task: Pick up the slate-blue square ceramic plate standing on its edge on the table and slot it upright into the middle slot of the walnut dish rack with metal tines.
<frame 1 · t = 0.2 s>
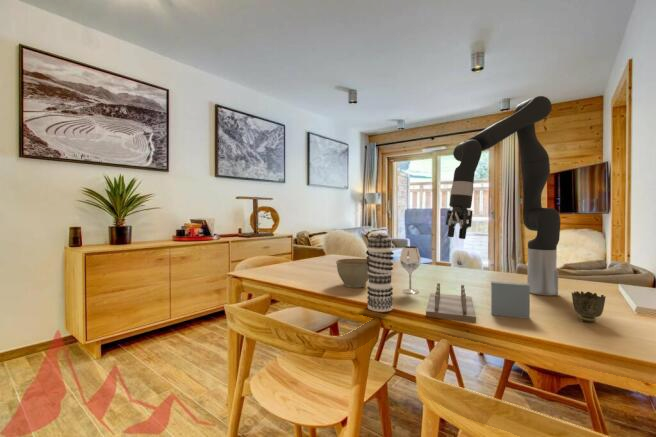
hand: (455, 237, 112), 22 cm above the table, tool pointing down, fingers open, 8 cm apart
cup: (587, 322, 87), on the table
wineglass: (410, 292, 121), on the table
dish rack: (450, 307, 100), on the table
plate: (509, 315, 93), on the table
decorative candle: (380, 308, 101), on the table
planter bowl: (354, 285, 132), on the table
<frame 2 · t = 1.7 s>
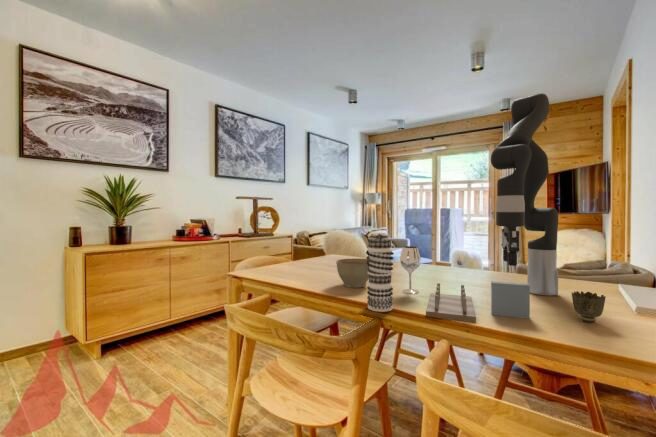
hand: (509, 263, 92), 16 cm above the table, tool pointing down, fingers open, 8 cm apart
nothing on the table moved.
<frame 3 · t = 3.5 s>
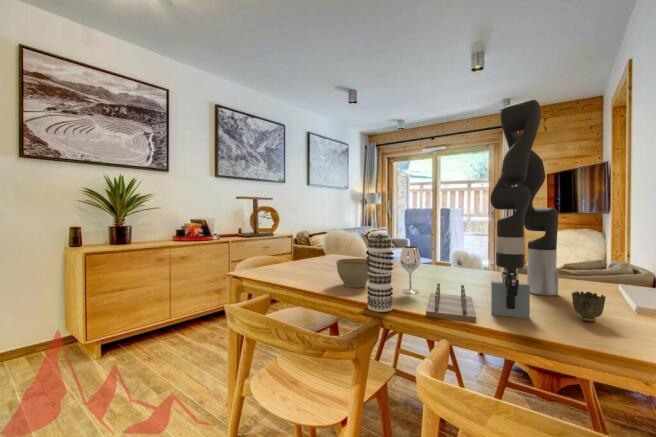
hand: (509, 306, 93), 3 cm above the table, tool pointing down, fingers closed on plate, 2 cm apart
plate: (509, 315, 93), on the table, touching gripper
everything else where it was.
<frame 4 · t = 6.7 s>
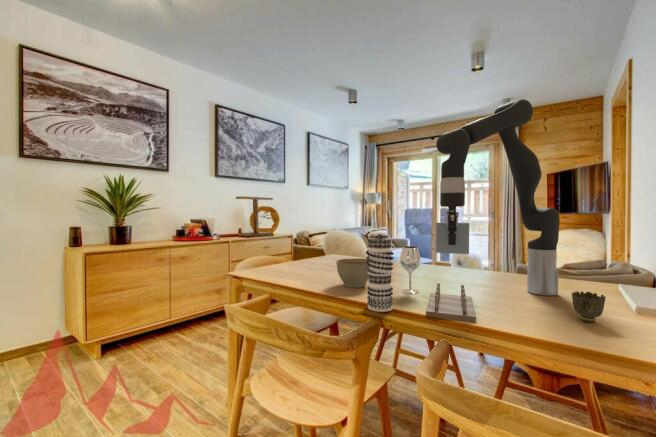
hand: (451, 244, 99), 21 cm above the table, tool pointing down, fingers closed on plate, 2 cm apart
plate: (452, 253, 99), point 19 cm above the table, touching gripper
everything else where it was.
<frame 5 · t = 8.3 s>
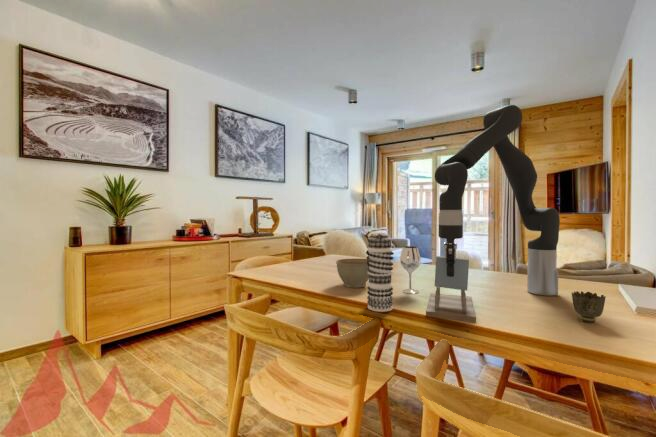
hand: (450, 275, 100), 11 cm above the table, tool pointing down, fingers closed on plate
plate: (450, 287, 100), point 7 cm above the table, touching gripper
everything else where it was.
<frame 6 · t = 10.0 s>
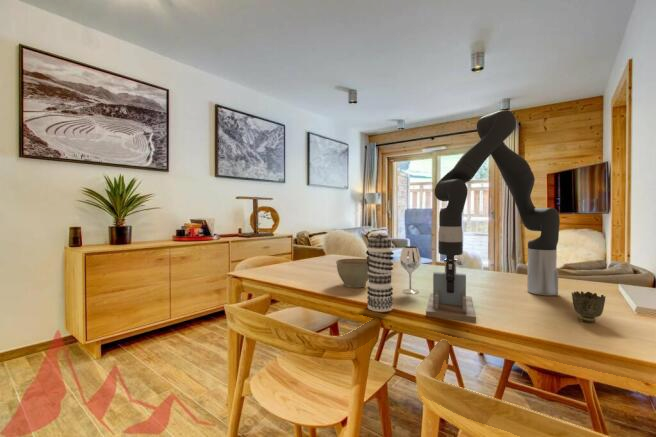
hand: (450, 290, 100), 6 cm above the table, tool pointing down, fingers open, 4 cm apart
plate: (449, 303, 100), point 1 cm above the table, touching dish rack
everything else where it was.
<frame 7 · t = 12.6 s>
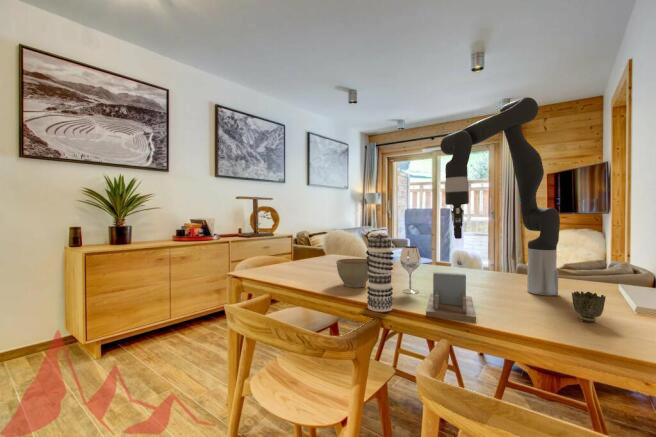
hand: (457, 237, 105), 23 cm above the table, tool pointing down, fingers open, 8 cm apart
nothing on the table moved.
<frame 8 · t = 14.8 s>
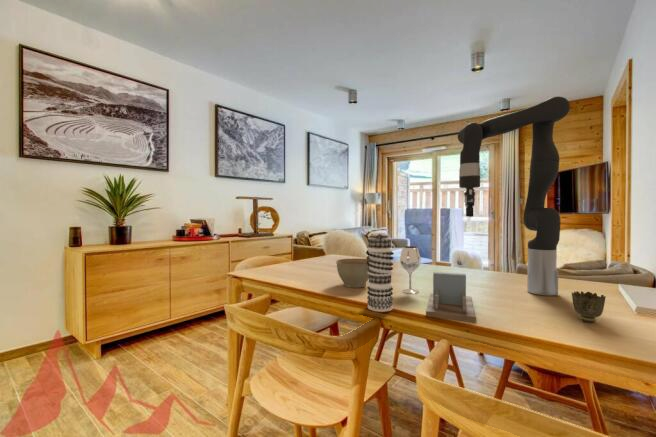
hand: (469, 216, 119), 30 cm above the table, tool pointing down, fingers open, 8 cm apart
nothing on the table moved.
at the end: plate 0.3 cm off-centre on the dish rack, point 1.5 cm above the dish rack's base; plate tilted 0°; the gripper is holding nothing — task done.
